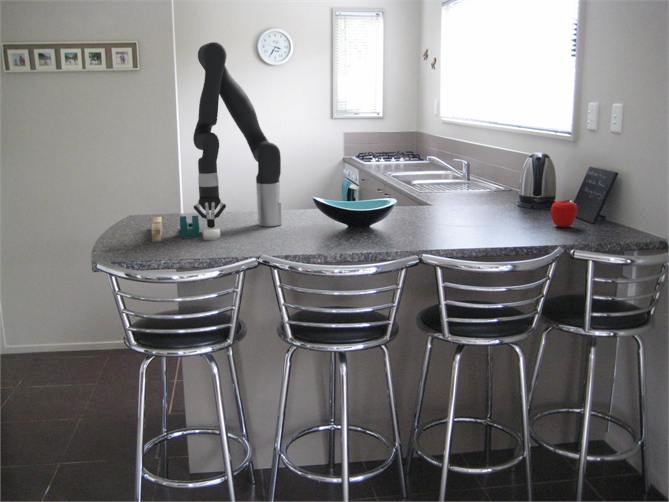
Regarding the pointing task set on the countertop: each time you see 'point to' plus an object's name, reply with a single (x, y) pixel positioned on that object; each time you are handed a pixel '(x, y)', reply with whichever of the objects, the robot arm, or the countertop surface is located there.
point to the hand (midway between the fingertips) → (211, 228)
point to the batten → (157, 229)
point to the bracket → (189, 227)
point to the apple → (563, 213)
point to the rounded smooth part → (211, 233)
